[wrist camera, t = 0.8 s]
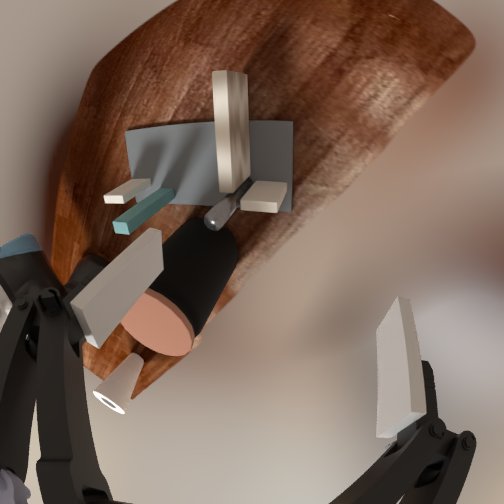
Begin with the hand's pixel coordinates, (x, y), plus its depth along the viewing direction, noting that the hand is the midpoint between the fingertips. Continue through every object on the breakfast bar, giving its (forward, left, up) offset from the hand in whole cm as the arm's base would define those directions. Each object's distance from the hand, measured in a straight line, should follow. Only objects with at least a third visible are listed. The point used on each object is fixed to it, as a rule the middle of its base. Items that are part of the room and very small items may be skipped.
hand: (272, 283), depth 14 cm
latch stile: (-21, -4, -23) cm, 31 cm away
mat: (-15, 0, -23) cm, 27 cm away
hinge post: (-8, -3, -23) cm, 25 cm away
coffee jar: (-15, -13, -23) cm, 31 cm away
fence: (-15, -3, -22) cm, 27 cm away
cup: (-45, -57, -23) cm, 76 cm away
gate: (-8, +5, -22) cm, 24 cm away
